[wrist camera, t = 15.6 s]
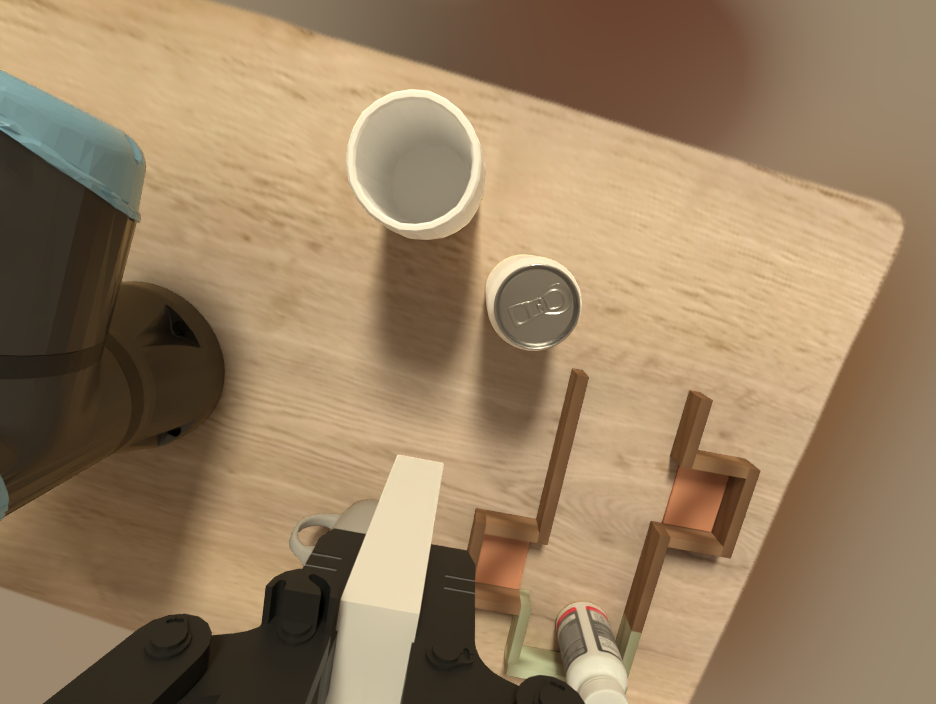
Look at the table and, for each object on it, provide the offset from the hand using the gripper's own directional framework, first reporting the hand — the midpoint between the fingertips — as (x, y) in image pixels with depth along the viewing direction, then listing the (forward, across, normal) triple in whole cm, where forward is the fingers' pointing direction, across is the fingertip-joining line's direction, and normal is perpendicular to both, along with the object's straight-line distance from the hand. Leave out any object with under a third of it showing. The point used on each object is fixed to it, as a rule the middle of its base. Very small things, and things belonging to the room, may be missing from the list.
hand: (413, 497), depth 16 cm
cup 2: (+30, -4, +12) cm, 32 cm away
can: (+30, +5, +5) cm, 30 cm away
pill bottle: (+30, +18, -27) cm, 44 cm away
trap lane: (+29, +17, -16) cm, 38 cm away
